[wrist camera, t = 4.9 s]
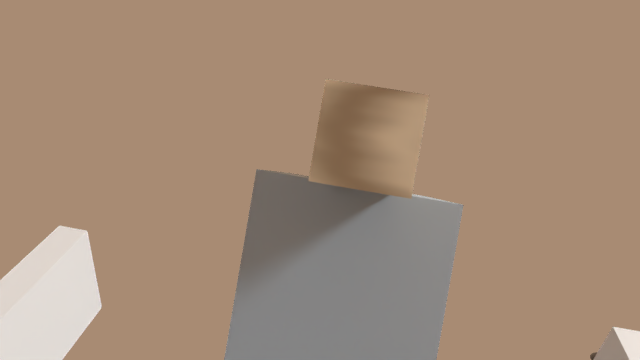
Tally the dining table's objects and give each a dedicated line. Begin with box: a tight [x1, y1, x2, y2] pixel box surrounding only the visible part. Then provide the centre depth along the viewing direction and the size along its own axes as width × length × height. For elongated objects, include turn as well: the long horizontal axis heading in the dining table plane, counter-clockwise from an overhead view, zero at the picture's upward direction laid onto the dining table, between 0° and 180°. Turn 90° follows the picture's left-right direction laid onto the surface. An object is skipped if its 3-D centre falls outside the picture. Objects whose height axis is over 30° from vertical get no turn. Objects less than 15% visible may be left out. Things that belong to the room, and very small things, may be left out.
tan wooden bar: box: [308, 79, 429, 199], centre depth 30 cm, size 4×23×4 cm, turn 176°
